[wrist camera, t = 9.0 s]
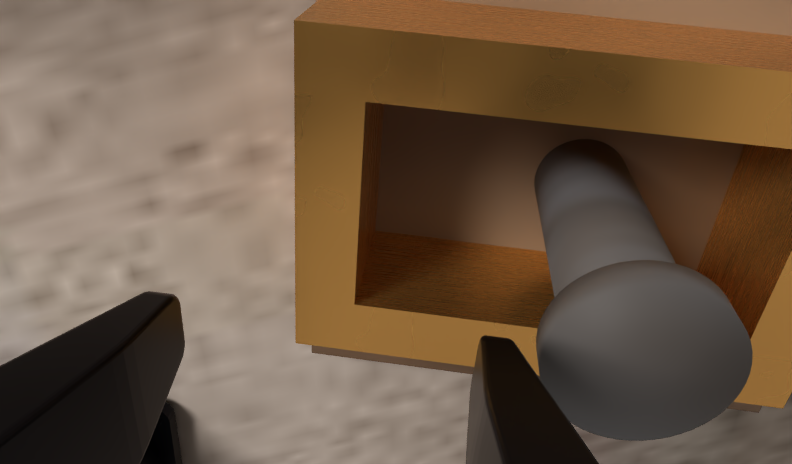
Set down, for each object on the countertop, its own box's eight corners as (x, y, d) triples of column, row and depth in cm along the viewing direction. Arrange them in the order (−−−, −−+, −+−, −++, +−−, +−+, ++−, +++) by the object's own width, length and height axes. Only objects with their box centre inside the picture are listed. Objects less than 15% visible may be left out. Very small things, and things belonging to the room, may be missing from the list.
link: (731, 317, 15) (782, 408, 13) (325, 266, 16) (295, 342, 13) (850, 41, 12) (954, 88, 9) (332, -11, 13) (293, 20, 10)
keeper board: (742, 380, 18) (888, 662, 11) (321, 325, 18) (239, 562, 12) (970, -102, 12) (1551, -69, 5) (331, -157, 12) (178, -186, 6)
